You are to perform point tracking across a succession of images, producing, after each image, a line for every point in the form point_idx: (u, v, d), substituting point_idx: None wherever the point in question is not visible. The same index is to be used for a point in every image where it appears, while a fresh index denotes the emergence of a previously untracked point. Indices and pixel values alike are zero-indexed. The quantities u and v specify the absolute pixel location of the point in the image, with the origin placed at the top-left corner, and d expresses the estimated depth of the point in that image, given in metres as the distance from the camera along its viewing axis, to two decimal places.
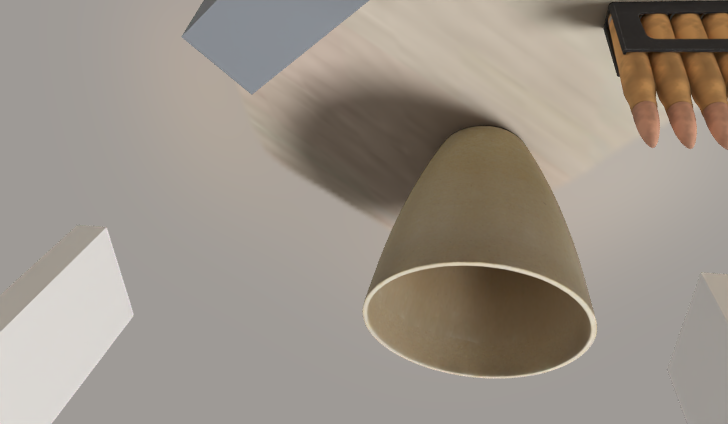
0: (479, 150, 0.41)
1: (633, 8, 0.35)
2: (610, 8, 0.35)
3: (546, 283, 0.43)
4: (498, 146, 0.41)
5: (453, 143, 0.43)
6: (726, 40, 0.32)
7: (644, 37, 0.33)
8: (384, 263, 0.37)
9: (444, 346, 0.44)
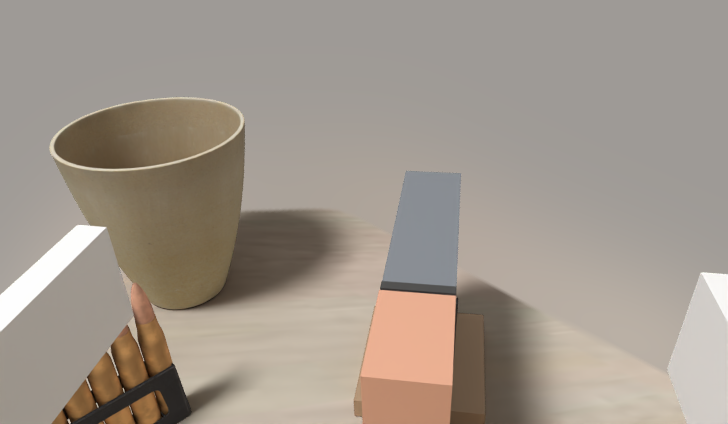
0: (210, 267, 0.49)
1: (173, 417, 0.40)
2: (189, 408, 0.41)
3: None
4: (196, 281, 0.49)
5: (225, 270, 0.52)
6: (97, 421, 0.36)
7: (162, 387, 0.39)
8: (244, 141, 0.48)
9: (144, 122, 0.53)
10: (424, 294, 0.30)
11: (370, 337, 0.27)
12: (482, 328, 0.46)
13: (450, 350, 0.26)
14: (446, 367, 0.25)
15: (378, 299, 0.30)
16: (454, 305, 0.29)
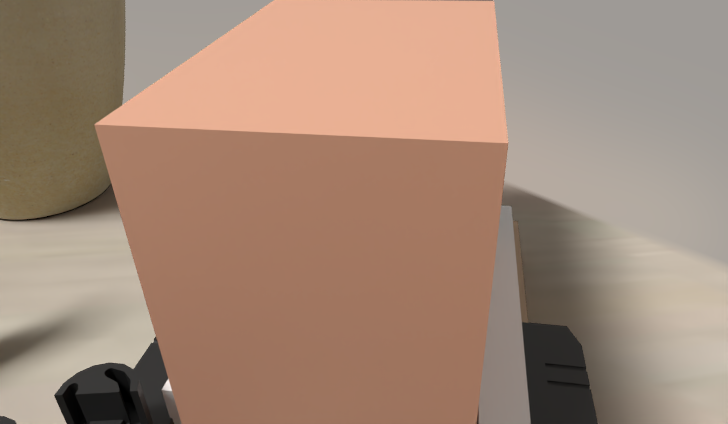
0: (63, 144, 0.29)
1: None
2: None
3: None
4: (38, 166, 0.29)
5: (101, 160, 0.32)
6: None
7: None
8: None
9: None
10: (402, 1, 0.10)
11: (202, 54, 0.08)
12: (517, 239, 0.26)
13: (488, 70, 0.07)
14: (477, 101, 0.06)
15: (265, 8, 0.10)
16: (491, 11, 0.09)
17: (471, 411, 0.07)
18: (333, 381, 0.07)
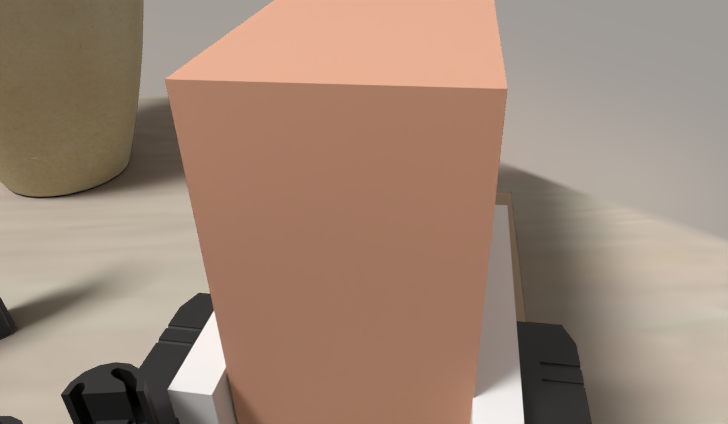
0: (87, 124, 0.32)
1: None
2: (12, 321, 0.24)
3: None
4: (64, 145, 0.31)
5: (120, 141, 0.35)
6: None
7: None
8: None
9: None
10: None
11: (240, 28, 0.09)
12: (510, 208, 0.28)
13: (489, 38, 0.08)
14: (481, 61, 0.07)
15: None
16: None
17: (476, 329, 0.08)
18: (357, 305, 0.08)
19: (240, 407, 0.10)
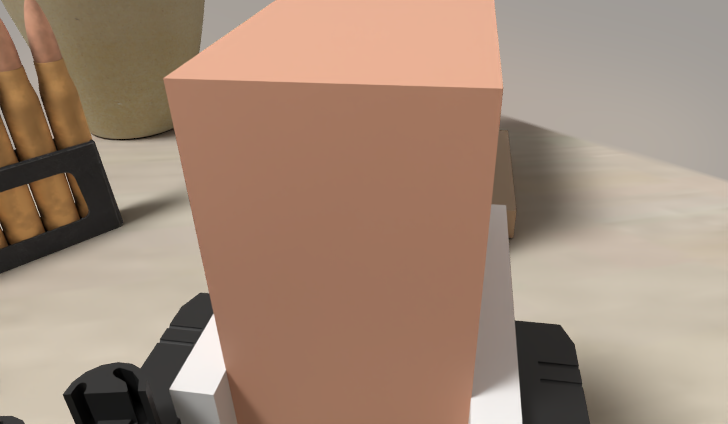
0: (162, 77, 0.39)
1: (96, 222, 0.30)
2: (120, 216, 0.31)
3: None
4: (143, 93, 0.39)
5: None
6: None
7: (76, 169, 0.28)
8: None
9: None
10: None
11: (240, 28, 0.09)
12: (507, 140, 0.35)
13: (487, 38, 0.08)
14: (478, 61, 0.07)
15: None
16: None
17: (473, 329, 0.08)
18: (355, 304, 0.08)
19: (239, 405, 0.10)
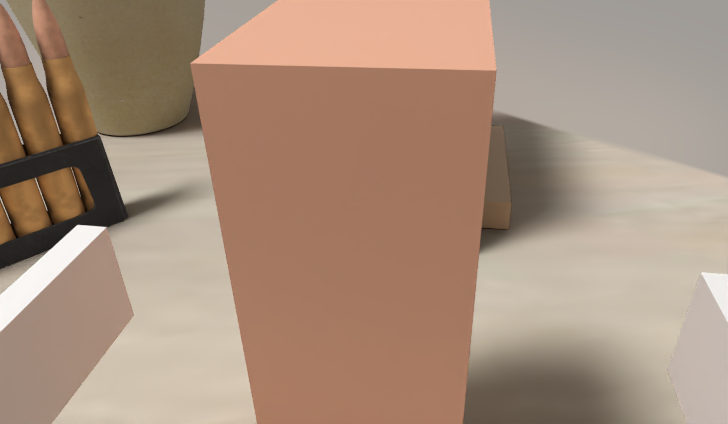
0: (164, 74, 0.39)
1: (102, 215, 0.31)
2: (125, 210, 0.32)
3: None
4: (145, 90, 0.39)
5: (186, 91, 0.42)
6: None
7: (82, 164, 0.29)
8: None
9: None
10: None
11: (254, 20, 0.10)
12: (502, 135, 0.36)
13: (482, 29, 0.09)
14: (474, 47, 0.08)
15: None
16: None
17: (470, 293, 0.09)
18: (362, 273, 0.09)
19: (253, 372, 0.11)
